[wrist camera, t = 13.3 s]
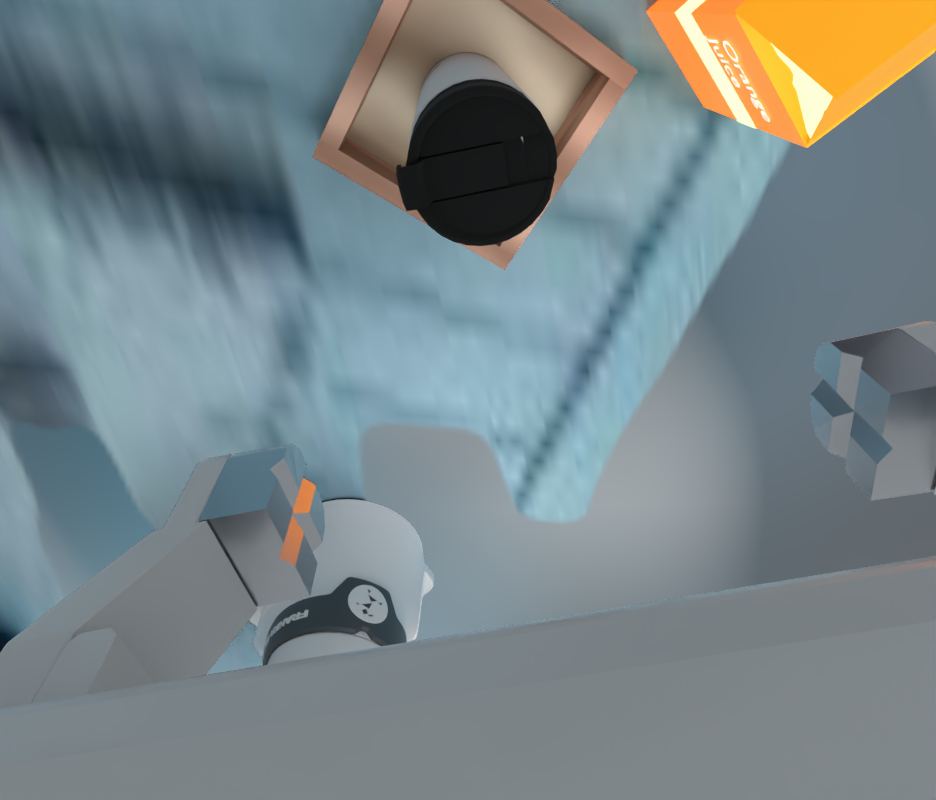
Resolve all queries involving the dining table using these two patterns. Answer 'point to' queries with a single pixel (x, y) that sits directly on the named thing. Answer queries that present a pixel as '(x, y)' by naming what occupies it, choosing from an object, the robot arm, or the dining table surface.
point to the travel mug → (477, 154)
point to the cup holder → (479, 31)
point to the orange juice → (794, 56)
